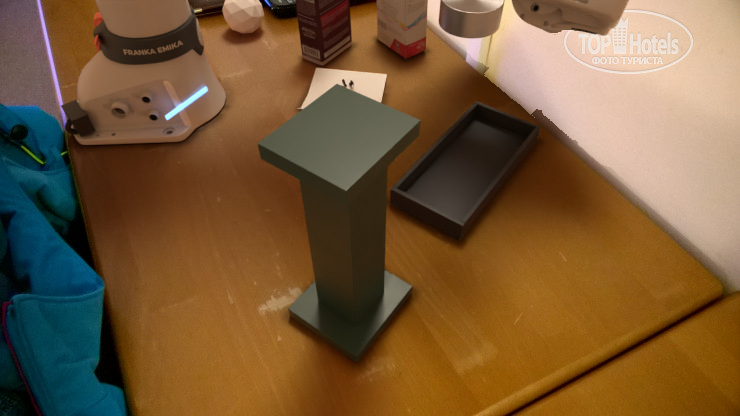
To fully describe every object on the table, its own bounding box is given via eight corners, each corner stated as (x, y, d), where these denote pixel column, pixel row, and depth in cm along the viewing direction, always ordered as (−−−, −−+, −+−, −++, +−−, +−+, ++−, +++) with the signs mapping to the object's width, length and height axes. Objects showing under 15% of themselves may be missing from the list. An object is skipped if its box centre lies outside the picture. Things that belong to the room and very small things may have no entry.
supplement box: (331, 37, 91) (325, -56, 79) (353, 45, 89) (349, -49, 77) (300, 58, 87) (288, -37, 75) (322, 67, 85) (313, -29, 73)
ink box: (426, 51, 88) (432, -16, 79) (403, 60, 86) (406, -8, 77) (397, 30, 93) (399, -36, 84) (374, 38, 91) (374, -28, 82)
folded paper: (386, 80, 82) (387, 69, 81) (374, 127, 74) (374, 116, 73) (315, 73, 84) (314, 62, 82) (296, 118, 76) (294, 108, 74)
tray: (473, 115, 76) (476, 100, 74) (536, 141, 72) (541, 126, 70) (389, 203, 64) (390, 188, 62) (459, 240, 60) (462, 226, 58)
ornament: (239, 16, 96) (259, -18, 92) (258, 44, 94) (280, 10, 90) (208, 11, 91) (228, -26, 86) (228, 41, 89) (249, 4, 84)
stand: (347, 254, 59) (335, 78, 41) (412, 293, 55) (430, 119, 37) (289, 316, 53) (247, 144, 35) (357, 363, 50) (347, 199, 32)
